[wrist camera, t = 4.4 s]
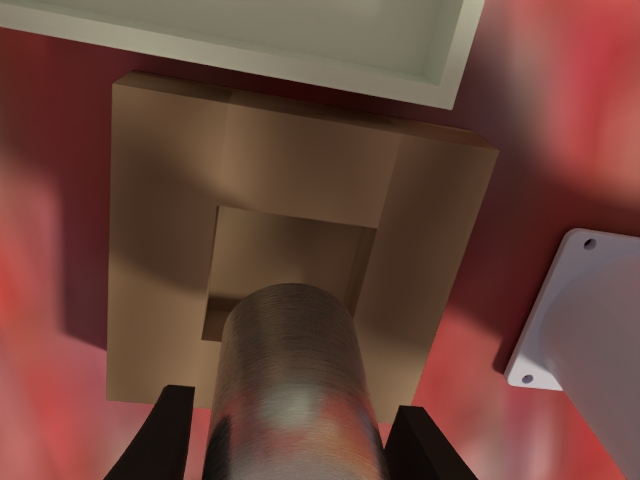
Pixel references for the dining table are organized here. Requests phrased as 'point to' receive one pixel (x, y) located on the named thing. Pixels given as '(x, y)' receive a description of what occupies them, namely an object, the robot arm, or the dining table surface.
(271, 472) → the steel pin
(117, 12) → the tray
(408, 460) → the robot arm
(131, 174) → the socket block
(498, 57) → the dining table surface
